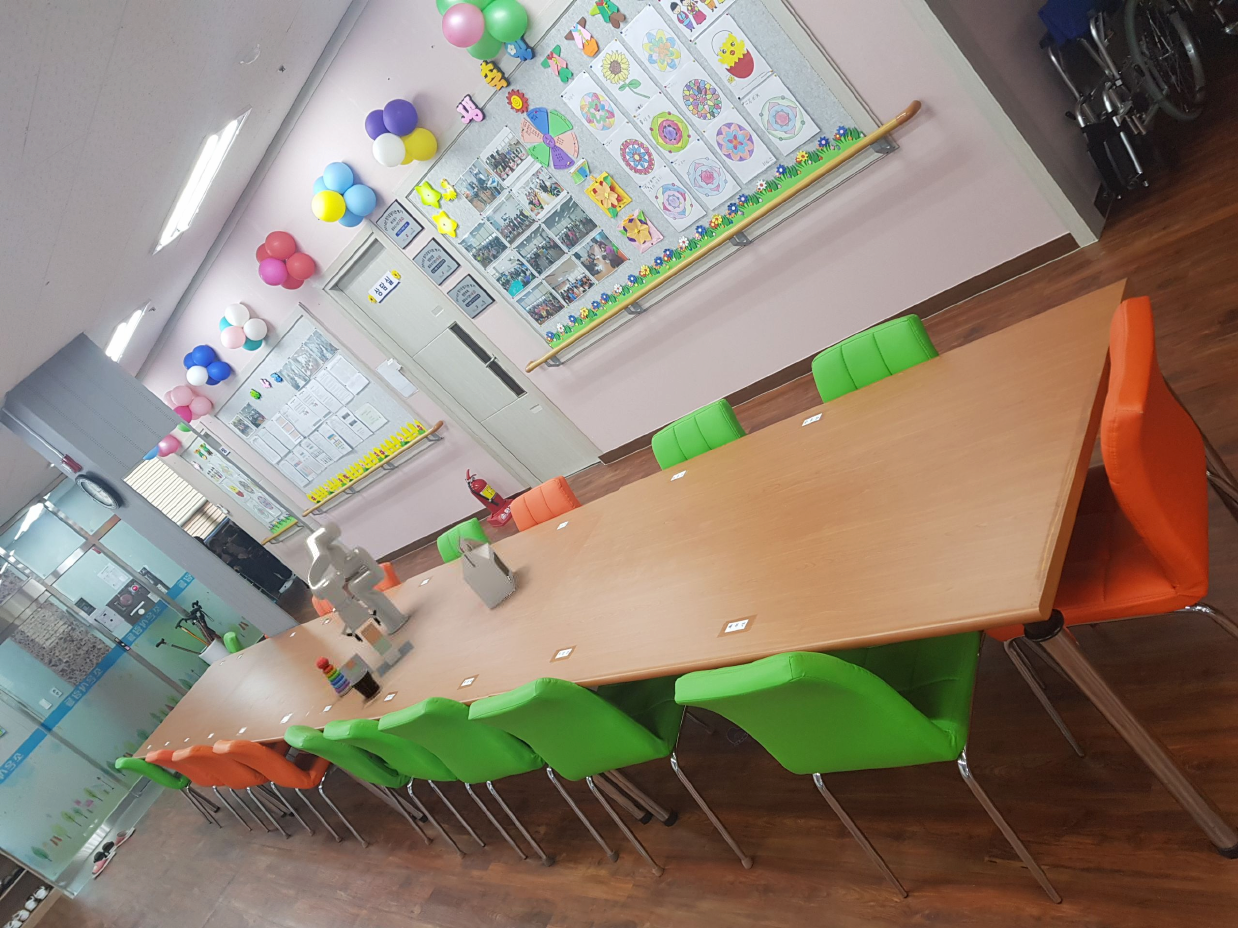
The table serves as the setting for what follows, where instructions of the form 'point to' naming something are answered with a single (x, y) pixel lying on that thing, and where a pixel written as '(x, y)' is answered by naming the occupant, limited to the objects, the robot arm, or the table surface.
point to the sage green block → (382, 645)
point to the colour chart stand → (354, 667)
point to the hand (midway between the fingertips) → (371, 633)
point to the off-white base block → (391, 655)
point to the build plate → (386, 667)
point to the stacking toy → (334, 677)
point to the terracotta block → (371, 633)
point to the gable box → (485, 571)
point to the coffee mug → (365, 684)
